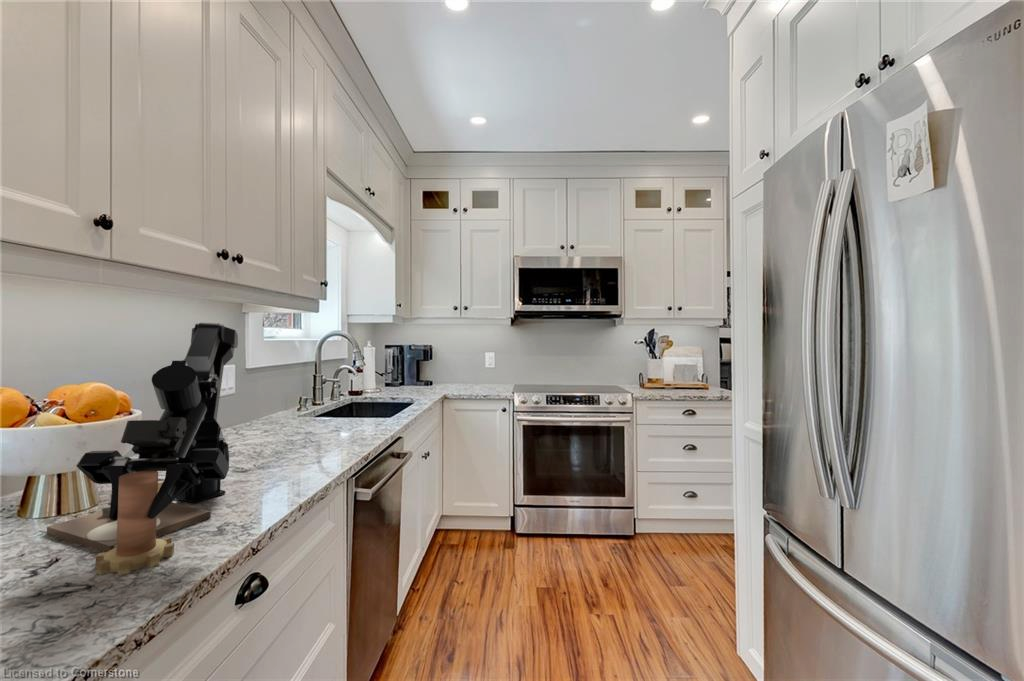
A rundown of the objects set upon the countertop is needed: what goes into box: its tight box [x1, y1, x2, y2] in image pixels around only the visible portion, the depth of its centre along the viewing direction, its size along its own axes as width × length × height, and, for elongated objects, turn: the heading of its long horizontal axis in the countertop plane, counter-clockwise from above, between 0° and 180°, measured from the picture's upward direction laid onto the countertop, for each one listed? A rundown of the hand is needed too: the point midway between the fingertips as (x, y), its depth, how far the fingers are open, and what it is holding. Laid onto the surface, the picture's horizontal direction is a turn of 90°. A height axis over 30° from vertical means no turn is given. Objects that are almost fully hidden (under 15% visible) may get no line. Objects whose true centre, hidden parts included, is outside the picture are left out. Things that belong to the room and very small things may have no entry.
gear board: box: [46, 501, 211, 553], centre depth 75 cm, size 15×17×4 cm
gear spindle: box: [94, 471, 175, 576], centre depth 63 cm, size 9×9×12 cm
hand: (131, 518), depth 62 cm, fingers closed on gear spindle, 4 cm apart
